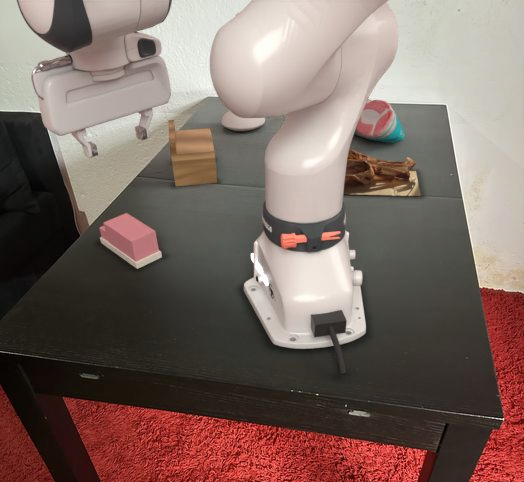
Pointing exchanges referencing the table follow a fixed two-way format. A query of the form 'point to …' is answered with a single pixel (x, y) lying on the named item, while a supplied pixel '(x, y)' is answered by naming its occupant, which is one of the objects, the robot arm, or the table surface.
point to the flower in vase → (241, 121)
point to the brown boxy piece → (192, 156)
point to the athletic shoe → (379, 123)
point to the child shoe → (130, 240)
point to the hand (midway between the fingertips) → (118, 146)
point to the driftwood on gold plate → (379, 176)
